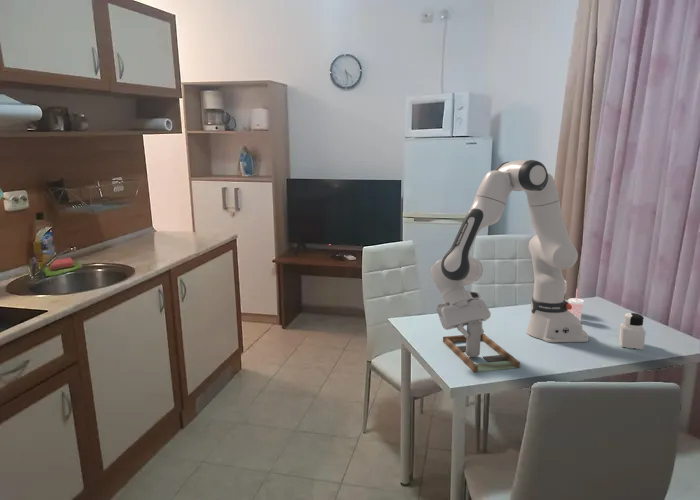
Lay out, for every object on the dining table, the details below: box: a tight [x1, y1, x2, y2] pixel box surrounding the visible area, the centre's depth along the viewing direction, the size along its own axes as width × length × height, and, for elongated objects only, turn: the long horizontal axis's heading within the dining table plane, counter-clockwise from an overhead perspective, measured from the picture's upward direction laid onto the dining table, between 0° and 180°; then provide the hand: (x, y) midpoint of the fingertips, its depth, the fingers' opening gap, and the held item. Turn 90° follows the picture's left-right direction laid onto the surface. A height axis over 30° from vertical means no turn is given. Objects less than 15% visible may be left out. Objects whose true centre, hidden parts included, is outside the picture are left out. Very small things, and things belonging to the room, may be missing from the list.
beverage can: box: [465, 320, 481, 358], centre depth 178 cm, size 5×5×12 cm
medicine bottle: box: [618, 312, 646, 350], centre depth 189 cm, size 7×7×12 cm
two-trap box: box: [442, 333, 521, 373], centre depth 183 cm, size 27×16×2 cm, turn 12°
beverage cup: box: [567, 288, 585, 321], centre depth 215 cm, size 6×6×14 cm
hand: (474, 335), depth 178 cm, fingers closed on beverage can, 5 cm apart
